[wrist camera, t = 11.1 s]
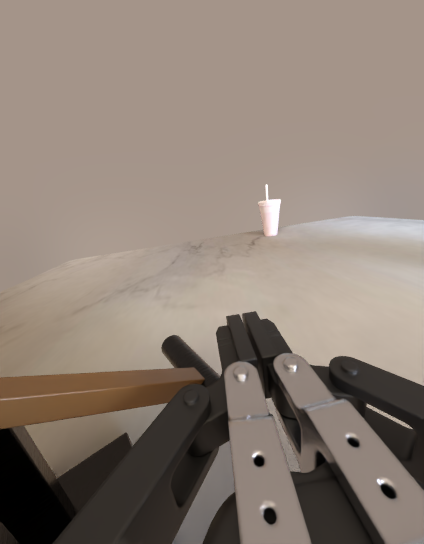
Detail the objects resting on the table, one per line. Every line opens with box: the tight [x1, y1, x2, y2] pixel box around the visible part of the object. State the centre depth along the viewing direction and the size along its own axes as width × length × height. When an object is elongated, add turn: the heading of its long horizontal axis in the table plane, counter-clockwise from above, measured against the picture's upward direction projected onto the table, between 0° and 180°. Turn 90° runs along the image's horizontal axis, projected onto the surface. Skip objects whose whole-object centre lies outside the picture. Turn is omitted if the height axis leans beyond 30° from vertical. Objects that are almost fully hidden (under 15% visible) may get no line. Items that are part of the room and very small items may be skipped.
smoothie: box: [258, 185, 281, 236], centre depth 64 cm, size 6×6×14 cm
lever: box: [0, 335, 220, 429], centre depth 8 cm, size 13×8×2 cm
